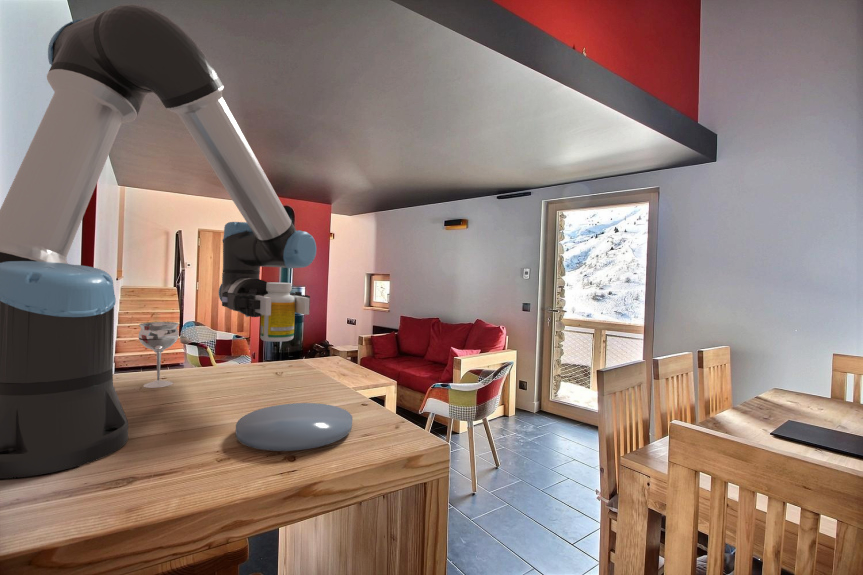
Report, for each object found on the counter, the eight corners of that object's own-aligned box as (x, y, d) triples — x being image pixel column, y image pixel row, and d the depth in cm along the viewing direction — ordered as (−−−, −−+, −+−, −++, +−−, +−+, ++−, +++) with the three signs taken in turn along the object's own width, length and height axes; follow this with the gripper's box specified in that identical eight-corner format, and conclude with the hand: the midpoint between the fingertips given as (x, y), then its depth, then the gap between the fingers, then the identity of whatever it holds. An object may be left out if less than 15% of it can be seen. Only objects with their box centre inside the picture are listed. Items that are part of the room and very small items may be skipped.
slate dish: (276, 469, 51) (276, 452, 51) (214, 433, 61) (214, 419, 61) (374, 433, 63) (374, 419, 63) (309, 408, 73) (310, 397, 73)
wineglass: (157, 390, 81) (158, 327, 80) (128, 387, 82) (129, 324, 82) (186, 381, 87) (187, 323, 87) (158, 378, 89) (159, 321, 88)
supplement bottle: (253, 340, 71) (254, 282, 71) (276, 336, 76) (278, 282, 76) (278, 343, 69) (279, 283, 69) (300, 339, 74) (302, 283, 74)
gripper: (296, 314, 92) (341, 327, 74) (200, 316, 81) (224, 332, 63) (297, 279, 92) (342, 284, 73) (201, 277, 81) (225, 281, 62)
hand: (288, 306), depth 68 cm, fingers closed on supplement bottle, 5 cm apart
